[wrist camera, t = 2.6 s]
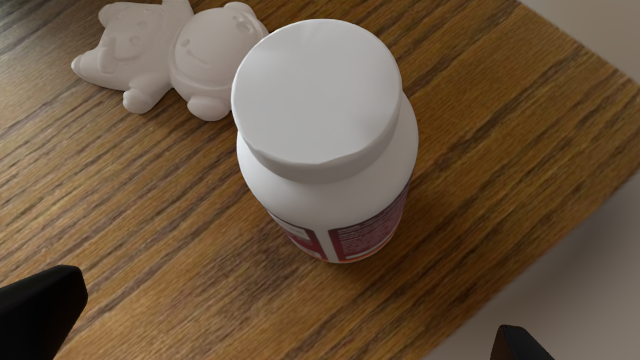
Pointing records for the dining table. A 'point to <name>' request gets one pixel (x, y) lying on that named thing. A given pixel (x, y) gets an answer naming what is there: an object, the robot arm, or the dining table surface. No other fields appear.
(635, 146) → the dining table surface
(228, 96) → the white cartoon figurine
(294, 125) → the pill bottle
